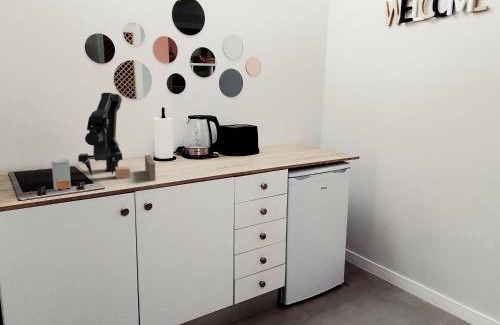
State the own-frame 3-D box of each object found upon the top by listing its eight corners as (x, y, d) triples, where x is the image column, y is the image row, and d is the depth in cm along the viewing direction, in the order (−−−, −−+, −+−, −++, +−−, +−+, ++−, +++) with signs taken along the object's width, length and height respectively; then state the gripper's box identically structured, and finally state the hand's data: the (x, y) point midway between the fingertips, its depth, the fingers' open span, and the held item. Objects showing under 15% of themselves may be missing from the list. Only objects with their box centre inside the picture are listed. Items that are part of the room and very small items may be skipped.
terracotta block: (115, 176, 175) (115, 167, 174) (128, 175, 177) (128, 166, 176) (116, 179, 170) (116, 169, 169) (130, 178, 172) (129, 168, 171)
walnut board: (145, 170, 187) (144, 155, 185) (150, 170, 188) (149, 155, 186) (149, 180, 168) (149, 163, 166) (155, 180, 168) (154, 163, 167)
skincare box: (55, 191, 149) (52, 162, 146) (53, 188, 152) (51, 160, 150) (71, 188, 152) (69, 160, 150) (69, 186, 155) (67, 159, 153)
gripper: (76, 145, 156) (78, 180, 159) (122, 143, 163) (123, 177, 166) (78, 141, 166) (80, 174, 169) (121, 140, 173) (122, 172, 176)
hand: (101, 175), depth 170 cm, fingers open, 9 cm apart
